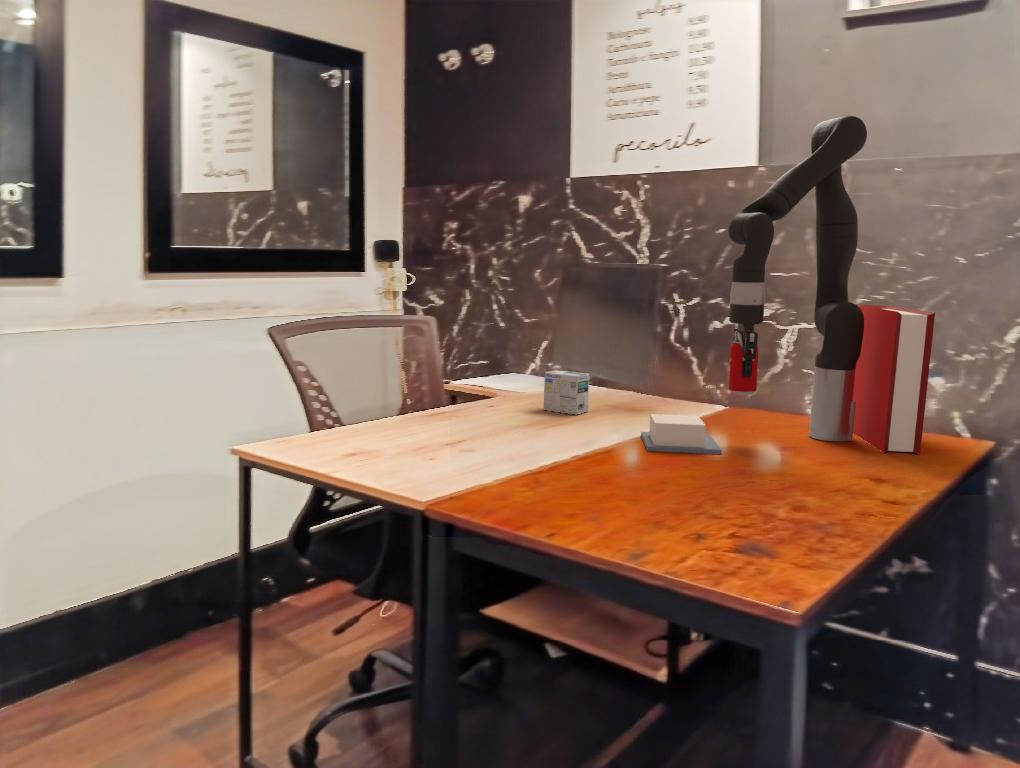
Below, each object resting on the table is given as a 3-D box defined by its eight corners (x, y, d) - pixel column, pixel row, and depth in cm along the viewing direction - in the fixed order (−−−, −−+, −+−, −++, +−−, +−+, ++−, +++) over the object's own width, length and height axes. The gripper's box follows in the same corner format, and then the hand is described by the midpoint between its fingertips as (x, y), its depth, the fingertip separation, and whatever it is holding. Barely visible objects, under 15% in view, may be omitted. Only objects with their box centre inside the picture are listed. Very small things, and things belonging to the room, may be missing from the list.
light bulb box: (588, 412, 229) (590, 373, 227) (577, 415, 223) (578, 375, 222) (554, 407, 235) (555, 369, 233) (542, 410, 229) (543, 371, 227)
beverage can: (753, 391, 197) (756, 340, 195) (758, 395, 191) (761, 342, 189) (726, 390, 197) (728, 339, 196) (730, 394, 191) (733, 342, 189)
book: (920, 455, 189) (935, 312, 184) (883, 453, 190) (897, 311, 185) (878, 430, 216) (890, 305, 211) (846, 429, 216) (858, 304, 212)
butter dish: (708, 438, 199) (710, 413, 198) (721, 454, 183) (723, 427, 183) (641, 435, 200) (642, 410, 199) (647, 450, 184) (649, 424, 184)
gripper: (771, 304, 184) (767, 380, 186) (756, 300, 198) (752, 371, 200) (737, 303, 184) (733, 379, 187) (724, 300, 198) (720, 370, 201)
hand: (743, 375), depth 193 cm, fingers closed on beverage can, 6 cm apart
